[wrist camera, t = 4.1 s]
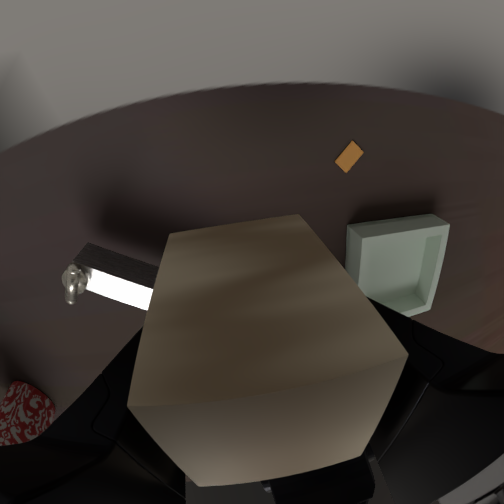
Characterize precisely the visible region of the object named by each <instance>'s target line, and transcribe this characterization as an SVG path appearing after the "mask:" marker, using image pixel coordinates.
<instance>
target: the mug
mask: <svg viewBox="0 0 504 504" xmlns="http://www.w3.org/2000/svg"><path fill="white" fill-rule="evenodd" d="M54 414H55V407H54V404H53V403H52V401H51V400H50V399H49V398H48V397H47V396H46V395H45V394H44V393H42V392H41V391H40V390H38V389H37V388H35V387H33V386H32V385H29V384H27V383H25V382H21V381H14V382H13V383H12V384H11V385H10V387H9V389H8V391H7V393H6V395H5V397H4V399H3V401H2V402H1V404H0V446H4V445H12V444H19V443H24V442H27V441H30V440H32V439H34V438H36V437H37V436H39V435H40V434H41V433H42V432H44V431H45V430H46V429H47V428H48V427H49V426H50V425H51V424H52V423H53V418H54Z"/></svg>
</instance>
